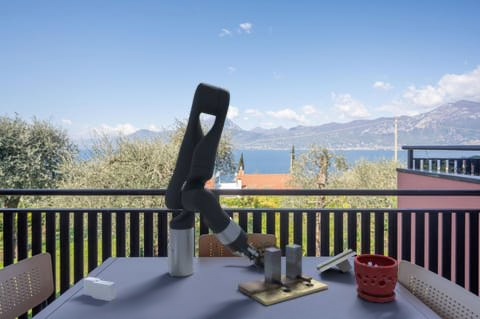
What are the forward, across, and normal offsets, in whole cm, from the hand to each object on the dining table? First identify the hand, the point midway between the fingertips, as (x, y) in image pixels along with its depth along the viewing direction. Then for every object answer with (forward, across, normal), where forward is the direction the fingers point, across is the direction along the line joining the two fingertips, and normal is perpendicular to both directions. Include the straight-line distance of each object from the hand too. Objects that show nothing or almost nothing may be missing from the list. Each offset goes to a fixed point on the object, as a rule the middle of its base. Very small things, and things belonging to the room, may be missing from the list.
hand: (261, 266), depth 118 cm
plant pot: (+24, -25, -13) cm, 37 cm away
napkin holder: (-27, +23, +39) cm, 53 cm away
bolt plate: (+10, -8, +1) cm, 13 cm away
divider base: (+10, -3, +1) cm, 10 cm away
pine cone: (+15, +22, -4) cm, 27 cm away
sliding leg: (+7, -4, +1) cm, 8 cm away
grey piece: (+30, -1, -19) cm, 36 cm away
